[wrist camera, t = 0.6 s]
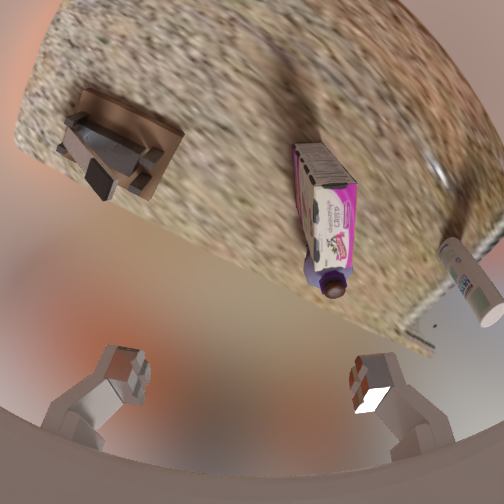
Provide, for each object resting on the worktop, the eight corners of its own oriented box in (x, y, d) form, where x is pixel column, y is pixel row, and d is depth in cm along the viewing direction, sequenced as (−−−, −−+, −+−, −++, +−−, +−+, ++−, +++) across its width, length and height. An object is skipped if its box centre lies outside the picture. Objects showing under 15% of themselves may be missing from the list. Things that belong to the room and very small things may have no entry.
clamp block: (71, 141, 36) (54, 151, 32) (82, 110, 34) (64, 118, 30) (149, 182, 42) (139, 196, 38) (164, 152, 39) (154, 163, 35)
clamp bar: (67, 143, 33) (59, 144, 32) (72, 125, 32) (64, 126, 31) (111, 199, 32) (103, 201, 31) (119, 179, 30) (110, 181, 29)
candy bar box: (325, 205, 46) (353, 269, 33) (295, 207, 47) (312, 274, 34) (324, 140, 40) (360, 183, 26) (291, 142, 40) (311, 186, 27)
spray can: (439, 239, 50) (487, 309, 34) (462, 233, 49) (511, 298, 33) (435, 262, 54) (476, 332, 38) (457, 256, 53) (499, 321, 37)
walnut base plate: (67, 151, 39) (61, 155, 38) (89, 88, 33) (83, 89, 32) (152, 195, 45) (148, 201, 44) (184, 134, 39) (181, 137, 38)
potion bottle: (348, 226, 49) (369, 270, 39) (339, 264, 54) (354, 310, 44) (300, 224, 49) (312, 270, 39) (295, 264, 54) (303, 312, 44)
